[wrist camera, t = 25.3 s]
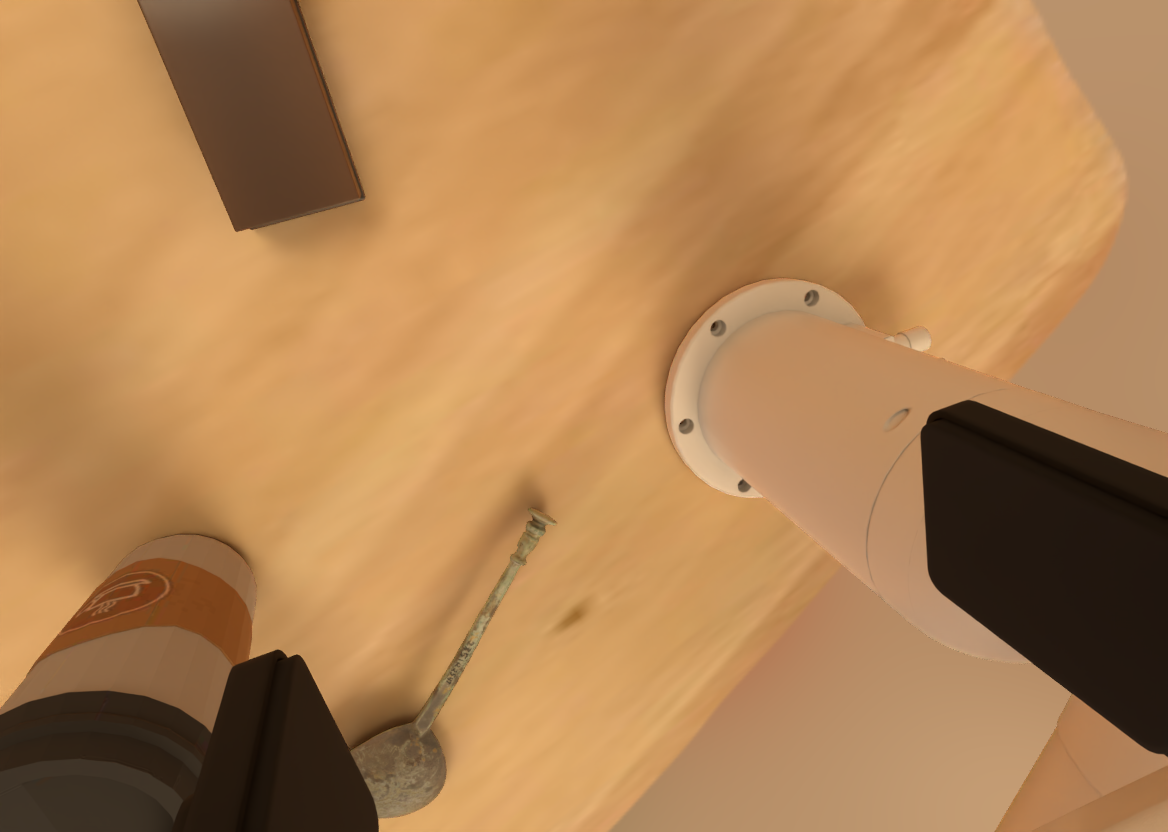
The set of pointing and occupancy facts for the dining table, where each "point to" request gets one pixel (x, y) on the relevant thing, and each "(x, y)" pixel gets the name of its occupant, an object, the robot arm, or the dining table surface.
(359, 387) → the dining table surface
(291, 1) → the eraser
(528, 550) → the soupspoon
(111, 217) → the dining table surface
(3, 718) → the coffee cup
